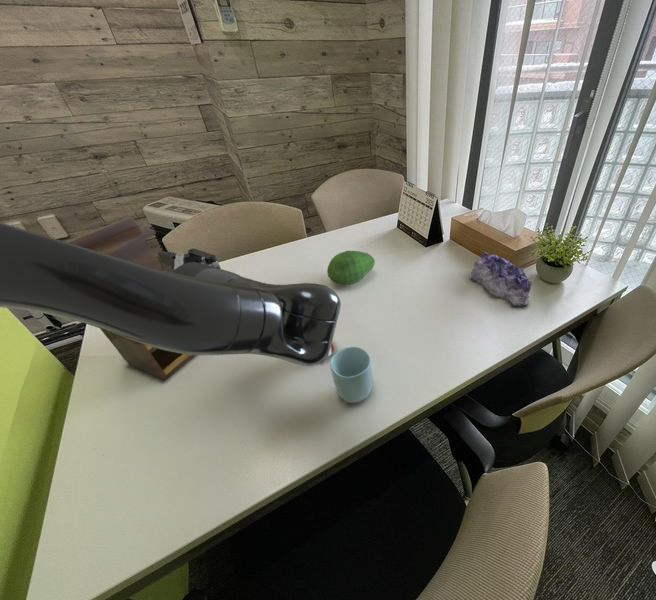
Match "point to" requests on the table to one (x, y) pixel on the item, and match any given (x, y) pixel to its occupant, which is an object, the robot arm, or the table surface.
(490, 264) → the geode
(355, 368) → the cup
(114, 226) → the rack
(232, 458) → the table surface
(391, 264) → the table surface
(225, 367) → the table surface
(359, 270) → the fruit
